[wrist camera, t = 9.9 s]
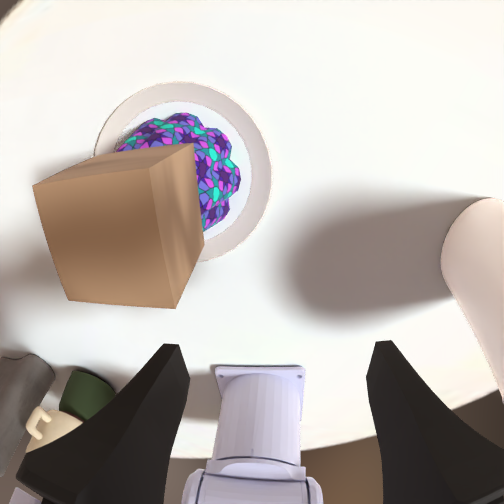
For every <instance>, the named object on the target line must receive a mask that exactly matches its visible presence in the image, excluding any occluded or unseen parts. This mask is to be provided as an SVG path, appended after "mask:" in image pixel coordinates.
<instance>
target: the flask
mask: <svg viewBox="0 0 504 504" xmlns="http://www.w3.org/2000/svg"><path fill="white" fill-rule="evenodd" d="M54 380H55V375H54V373H53V370H52V369H51V368H50V366H49V365H48V364H47V363H46V362H45V361H44V360H42V359H41V358H40V357H38V356H36V355H32V354H29V355H27V356H25V357H24V358H22V359H9V358H5V357H1V358H0V477H3V475H4V473H5V471H6V468H7V466H8V464H9V462H10V460H11V458H12V456H13V454H14V452H15V450H16V448H17V446H18V444H19V442H20V440H21V438H22V436H23V434H24V432H25V430H26V423H27V421H28V419H29V417H30V416H31V414H32V412H33V410H34V409H35V408H36V407H37V406H39V405H40V403H41V402H42V400H43V398H44V396H45V395H46V393H47V391H48V390H49V388H50V386H51V385H52V383H53V381H54Z"/></svg>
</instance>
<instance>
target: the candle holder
mask: <svg viewBox="0 0 504 504" xmlns="http://www.w3.org/2000/svg"><path fill="white" fill-rule="evenodd" d="M441 271H442V275H443V278H444V280H445V282H446V284H447V286H448V288H449V290H450V291H451V293H452V295H453V297H454V298H455V300H456V302H457V304H458V305H459V307H460V309H461V311H462V313H463V314H464V316H465V318H466V320H467V322H468V324H469V326H470V328H471V329H472V331H473V333H474V335H475V337H476V339H477V341H478V343H479V345H480V347H481V349H482V351H483V354H484V356H485V358H486V360H487V362H488V364H489V367H490V369H491V371H492V373H493V376H494V378H495V380H496V383H497V385H498V388H499V390H500V393H501V395H502V399H503V404H504V201H502V200H499V199H495V198H487V199H482V200H479V201H477V202H475V203H473V204H471V205H470V206H469V207H467V208H466V209H465V210H464V211H463V212H462V213H461V214H460V215H459V216H458V217H457V219H456V220H455V221H454V223H453V224H452V226H451V227H450V229H449V231H448V233H447V235H446V238H445V241H444V244H443V247H442V252H441Z"/></svg>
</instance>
